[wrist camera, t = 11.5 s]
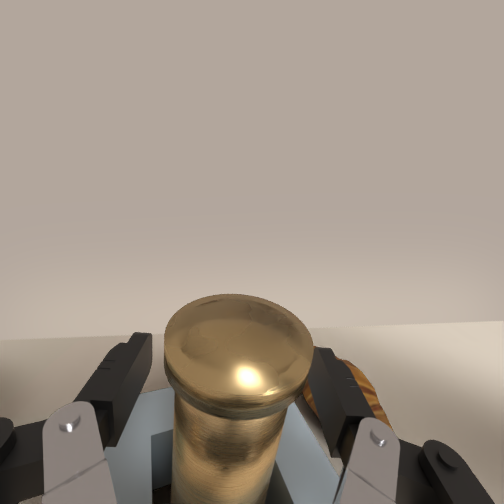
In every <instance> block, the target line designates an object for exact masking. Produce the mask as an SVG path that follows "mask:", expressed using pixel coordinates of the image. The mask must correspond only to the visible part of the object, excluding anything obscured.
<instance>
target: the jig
mask: <svg viewBox="0 0 504 504" xmlns="http://www.w3.org/2000/svg"><path fill="white" fill-rule="evenodd" d="M174 396H175V391H174V389H173V388H172V387H169V388H164V389H160V390H155V391H151V392H146V393H142V394H140V395H139V397H138V399H137V401H136V403H135V406H134V408H133V410H132V412H131V415H130V417H129V419H128V421H127V424H126V426H125V428H124V430H123V432H122V435H121V437H120V439H119V441H118V444H117V446H116V447H106V448H105V450H104V456H105V459H107V462H108V466H109V470H110V475H111V479H112V483H113V488H114V492H115V496H116V501H117V504H152V490H155V489H157V488H160V487H163V486H165V485H168V484H171V482H172V453H173V425H174ZM338 481H339V476H338V475H337V473H336V471H335V470H334V468H333V466H332V465H331V463H330V461H329V460H328V458H327V456H326V454H325V453H324V451H323V449H322V448H321V446H320V444H319V443H318V441H317V439H316V438H315V436H314V434H313V433H312V431H311V429H310V428H309V426H308V424H307V423H306V421H305V419H304V418H303V416H302V414H301V413H300V411H299V409H298V408H297V406H296V404H295V403H294V402H293V403H292V404H291V405H289V406H288V409H287V414H286V418H285V422H284V426H283V430H282V434H281V438H280V442H279V446H278V450H277V455H276V459H275V463H274V467H273V471H272V475H271V479H270V483H269V487H268V492H267V496H266V500H265V504H332V501H333V498H334V495H335V491H336V488H337V485H338Z"/></svg>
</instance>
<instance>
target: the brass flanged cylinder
mask: <svg viewBox="0 0 504 504" xmlns="http://www.w3.org/2000/svg"><path fill="white" fill-rule="evenodd" d="M313 353H314V347H313V341H312V338H311V335H310V333H309V331H308V330H307V328H306V327H305V325H304V324H303V323H302V322H301V321H300V320H299V319H298V318H297V317H296V316H295V315H294V314H292V313H291V312H290V311H288V310H287V309H285V308H283V307H282V306H280V305H278V304H275V303H273V302H271V301H268V300H265V299H262V298H258V297H254V296H248V295H241V294H220V295H213V296H208V297H204V298H201V299H198V300H195V301H193V302H191V303H189V304H187V305H185V306H184V307H182V308H181V309H180V310H178V311H177V312H176V313H175V314H174V315H173V316H172V318H171V319H170V321H169V322H168V325H167V327H166V330H165V335H164V368H165V373H166V376H167V378H168V381H169V383H170V384H171V386H172V388H173V389H174V391H175V396H174V425H173V453H172V482H171V504H265V500H266V496H267V492H268V487H269V483H270V479H271V475H272V471H273V467H274V463H275V459H276V455H277V450H278V446H279V442H280V438H281V434H282V430H283V426H284V422H285V418H286V414H287V409H288V406H289V405H291V404H292V403H293V402H294V401H295V400H296V399H297V398H298V397H299V395H300V394H301V392H302V391H303V389H304V387H305V384H306V381H307V378H308V374H309V370H310V366H311V362H312V359H313Z"/></svg>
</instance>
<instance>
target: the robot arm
mask: <svg viewBox="0 0 504 504" xmlns="http://www.w3.org/2000/svg"><path fill="white" fill-rule="evenodd" d="M151 365H152V334H151V333H140V332H135V333H133V335H132V336H131V338H130V339H129V341H128V342H127V343H119V344H118V345H116V346H115V347H114V348H112V349H111V350H110V351H109V352H108V354H107V355H106V356H105V358H104V359H103V362H101V363H100V365H99V366H98V368H97V370H95V372H94V373H93V375H92V376H91V377H90V379H89V380H88V382H87V383H86V384H85V386H84V387H83V389H82V390H81V391H80V393H79V394H78V396H77V397H76V398H75V400H74V401H73V402H72V403H70V404H67V405H65V406H63V407H61V408H59V409H58V410H57V411H55V412H54V413H53V414H52V415H51V416H50V417H49V418H48V419H46V420H43V421H40V422H35V423H31V424H26V425H22V426H18V427H14V426H13V422H12V421H11V420H10V419H8V418H3V417H0V504H18V503H19V502H20V501H23V500H26V499H29V498H32V497H35V496H39V495H42V494H43V495H42V504H117V501H116V496H115V492H114V488H113V483H112V479H111V475H110V470H109V466H108V462H107V459H105V456H104V450H105V448H106V447H116V446H117V444H118V441H119V439H120V437H121V435H122V432H123V430H124V428H125V426H126V424H127V421H128V419H129V417H130V415H131V412H132V410H133V408H134V406H135V403H136V401H137V399H138V397H139V395H140V392H141V390H142V388H143V386H144V383H145V381H146V379H147V377H148V374H149V372H150V369H151ZM308 383H309V387H310V390H311V393H312V397H313V400H314V403H315V406H316V410H317V413H318V416H319V419H320V422H321V426H322V429H323V432H324V435H325V439H326V442H327V445H328V448H329V452H330V455H331V457H334V458H341V459H342V462H343V465H344V466H343V468H342V471H341V474H340V478H339V481H338V485H337V488H336V491H335V495H334V498H333V501H332V504H495V503H494V502H493V500H492V499H491V497H490V496H489V495H488V493H487V492H486V490H485V489H484V488H483V486H482V485H481V483H480V482H479V481H478V479H477V478H476V476H475V475H474V474H473V472H472V471H471V469H470V468H469V466H468V465H467V464H466V462H465V461H464V460H463V459H462V457H461V456H460V455H459V454H458V453H457V452H455V451H454V450H453V449H452V448H450V447H449V446H447V445H445V444H444V443H442V442H439V441H436V440H428V441H426V442H425V443H424V445H423V447H419V446H416V445H414V444H411V443H408V442H406V441H403V440H401V439H398V438H397V436H396V435H395V433H394V432H393V431H392V429H391V428H390V427H389V426H387V425H386V424H385V423H383V422H382V421H380V420H378V419H377V418H376V416H375V415H374V413H373V411H372V409H371V407H370V405H369V403H368V402H367V400H366V398H365V396H364V394H363V392H362V390H361V388H359V385H358V383H357V381H356V380H355V377H354V375H353V374H352V372H351V370H350V368H349V367H348V366H347V365H346V364H345V363H344V362H343V361H342V360H337V359H336V357H335V355H334V353H333V351H332V349H331V348H321V347H315V348H314V353H313V359H312V362H311V366H310V370H309V374H308ZM164 504H168V503H164Z"/></svg>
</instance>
